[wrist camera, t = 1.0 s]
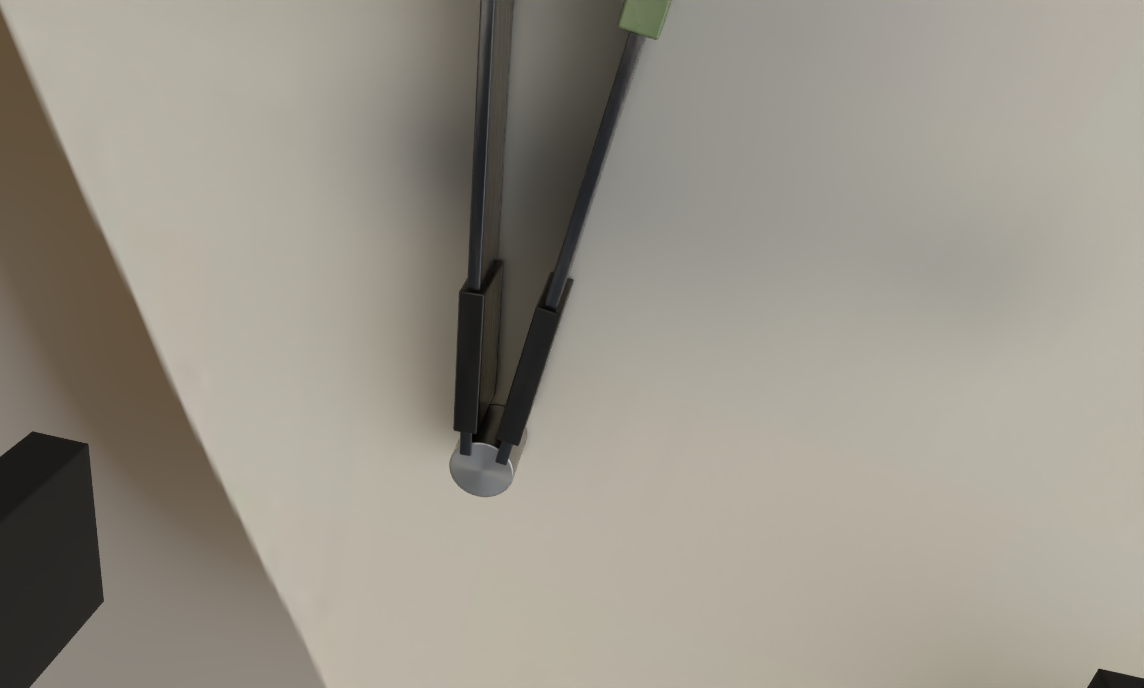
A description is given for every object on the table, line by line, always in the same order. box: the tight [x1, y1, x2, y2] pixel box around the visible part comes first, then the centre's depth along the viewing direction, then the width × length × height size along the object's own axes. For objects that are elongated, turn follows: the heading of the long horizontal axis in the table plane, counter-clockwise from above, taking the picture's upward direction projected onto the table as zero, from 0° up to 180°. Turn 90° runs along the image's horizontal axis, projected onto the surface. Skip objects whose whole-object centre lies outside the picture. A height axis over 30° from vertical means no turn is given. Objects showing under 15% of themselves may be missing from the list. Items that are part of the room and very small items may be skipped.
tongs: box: [449, 0, 672, 497], centre depth 27 cm, size 19×6×3 cm, turn 169°
